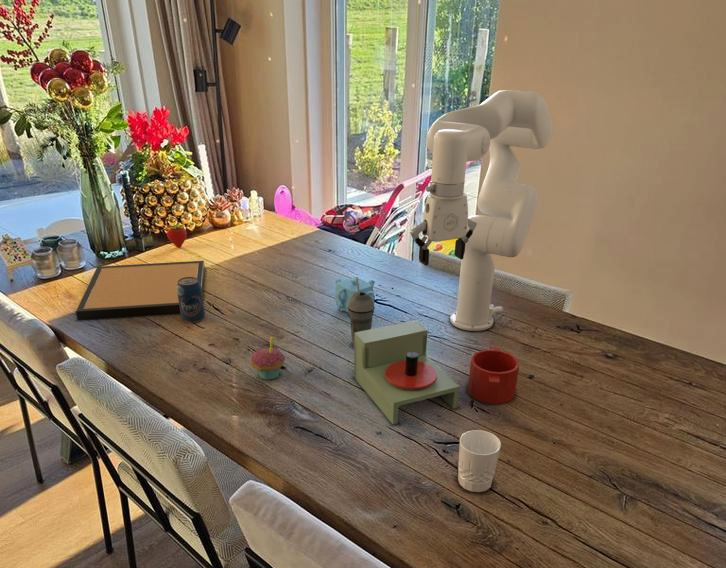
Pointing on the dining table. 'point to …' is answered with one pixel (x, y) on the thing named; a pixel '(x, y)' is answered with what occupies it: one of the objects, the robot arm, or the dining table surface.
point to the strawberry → (177, 235)
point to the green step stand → (390, 347)
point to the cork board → (136, 289)
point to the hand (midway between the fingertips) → (441, 260)
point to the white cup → (477, 460)
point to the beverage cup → (360, 311)
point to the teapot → (351, 291)
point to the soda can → (190, 299)
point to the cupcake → (267, 361)
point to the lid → (411, 373)
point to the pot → (493, 376)
